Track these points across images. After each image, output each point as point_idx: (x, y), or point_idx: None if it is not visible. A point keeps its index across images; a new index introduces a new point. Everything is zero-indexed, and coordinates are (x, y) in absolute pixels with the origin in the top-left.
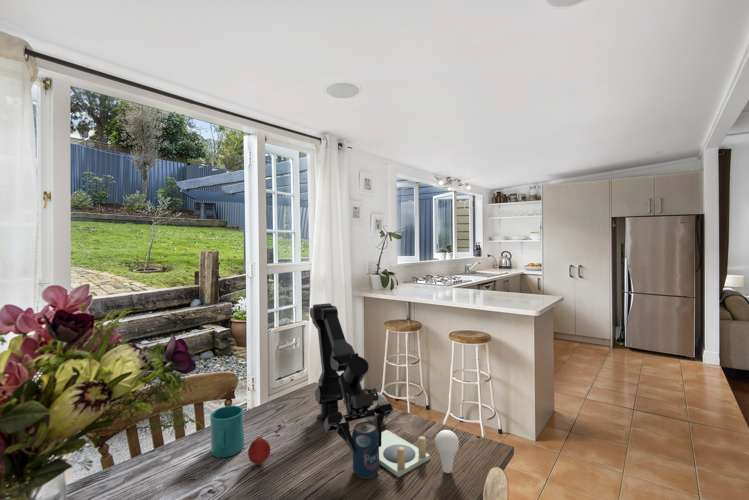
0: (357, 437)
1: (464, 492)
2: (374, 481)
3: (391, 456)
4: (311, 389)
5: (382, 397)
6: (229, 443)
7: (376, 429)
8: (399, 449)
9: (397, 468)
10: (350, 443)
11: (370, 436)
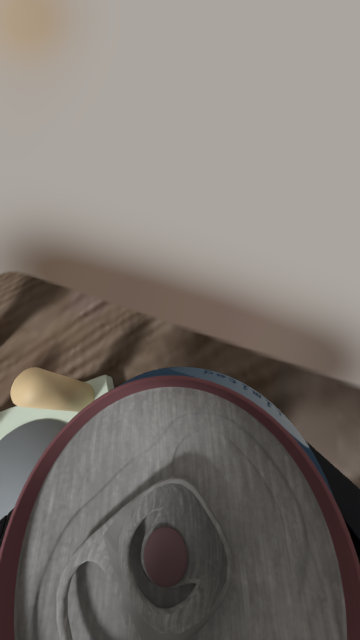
0: (297, 434)
1: (20, 275)
2: None
3: None
4: None
5: None
6: None
7: (49, 466)
8: (36, 385)
9: (94, 398)
10: (345, 478)
11: (165, 373)
